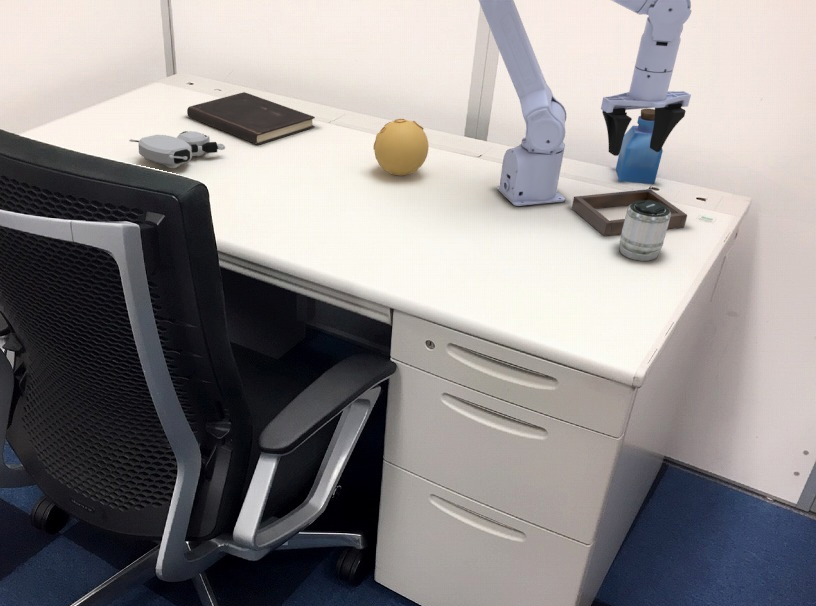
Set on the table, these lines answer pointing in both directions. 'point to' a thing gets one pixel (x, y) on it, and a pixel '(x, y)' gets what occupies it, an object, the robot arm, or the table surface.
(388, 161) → the stress ball
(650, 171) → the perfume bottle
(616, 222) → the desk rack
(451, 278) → the table surface
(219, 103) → the hardcover book
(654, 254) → the camera lens
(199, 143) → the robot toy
